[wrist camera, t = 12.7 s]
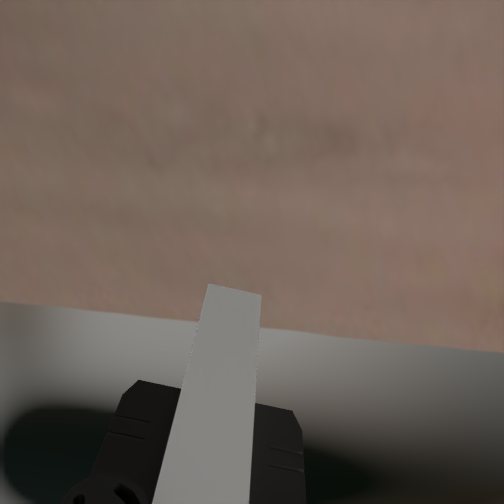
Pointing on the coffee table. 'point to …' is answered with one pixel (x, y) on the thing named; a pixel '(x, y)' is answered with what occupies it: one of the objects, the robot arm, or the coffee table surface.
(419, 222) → the coffee table surface
